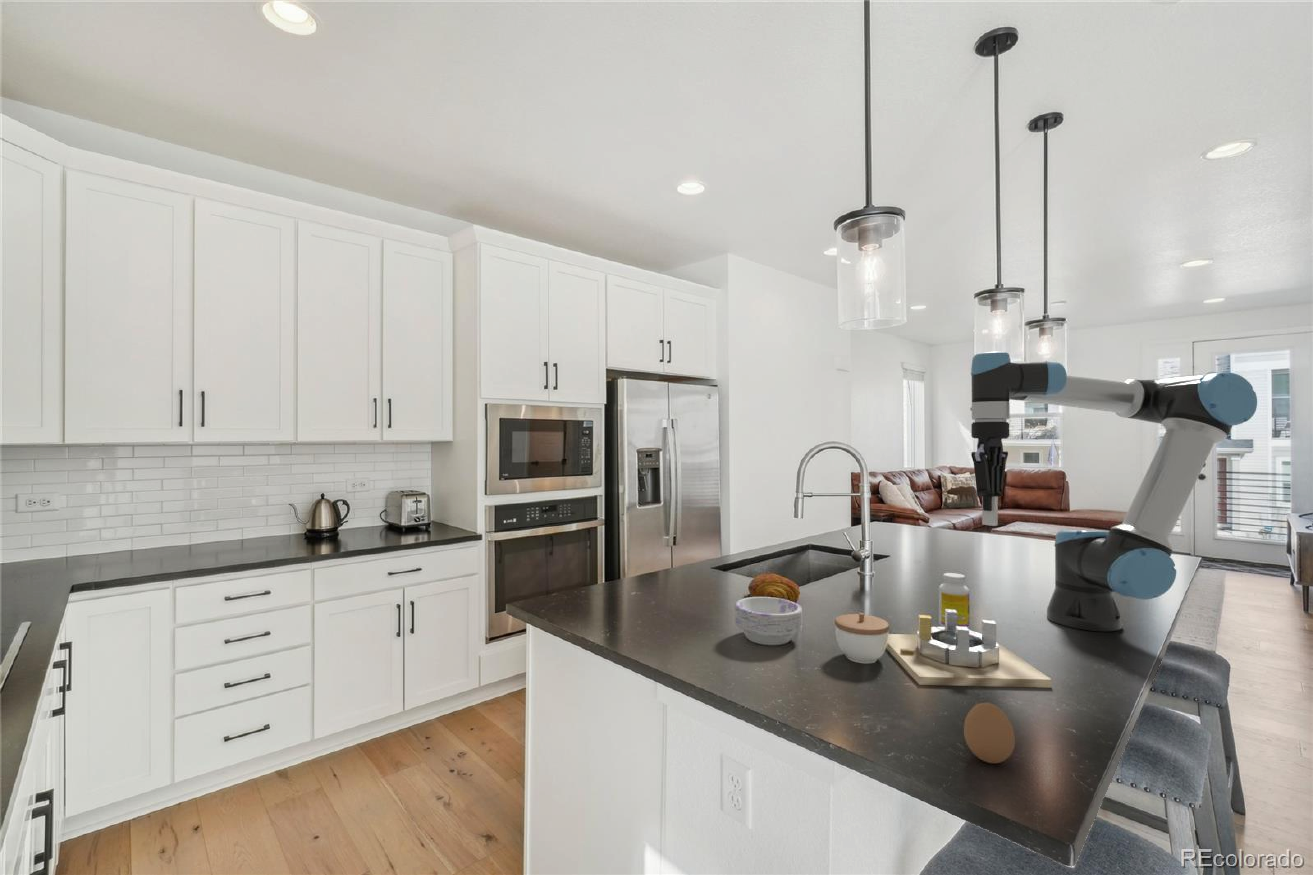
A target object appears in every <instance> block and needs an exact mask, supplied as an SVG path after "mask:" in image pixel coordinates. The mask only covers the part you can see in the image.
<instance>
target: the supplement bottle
mask: <svg viewBox="0 0 1313 875" xmlns="http://www.w3.org/2000/svg"><path fill="white" fill-rule="evenodd" d="M942 576H943V581H944V582H943V583H941V584H940V585H939V587H938V625H939V627H945V609H951V610H956V612H957V626H961V627H967V628H968V629H969V630H970V589H969V587H967V585H965V581H966V576H965V575H964V574H961V573H956V572H955V573H954V572H946V573H945V572H944V573H943V575H942Z"/></svg>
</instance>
